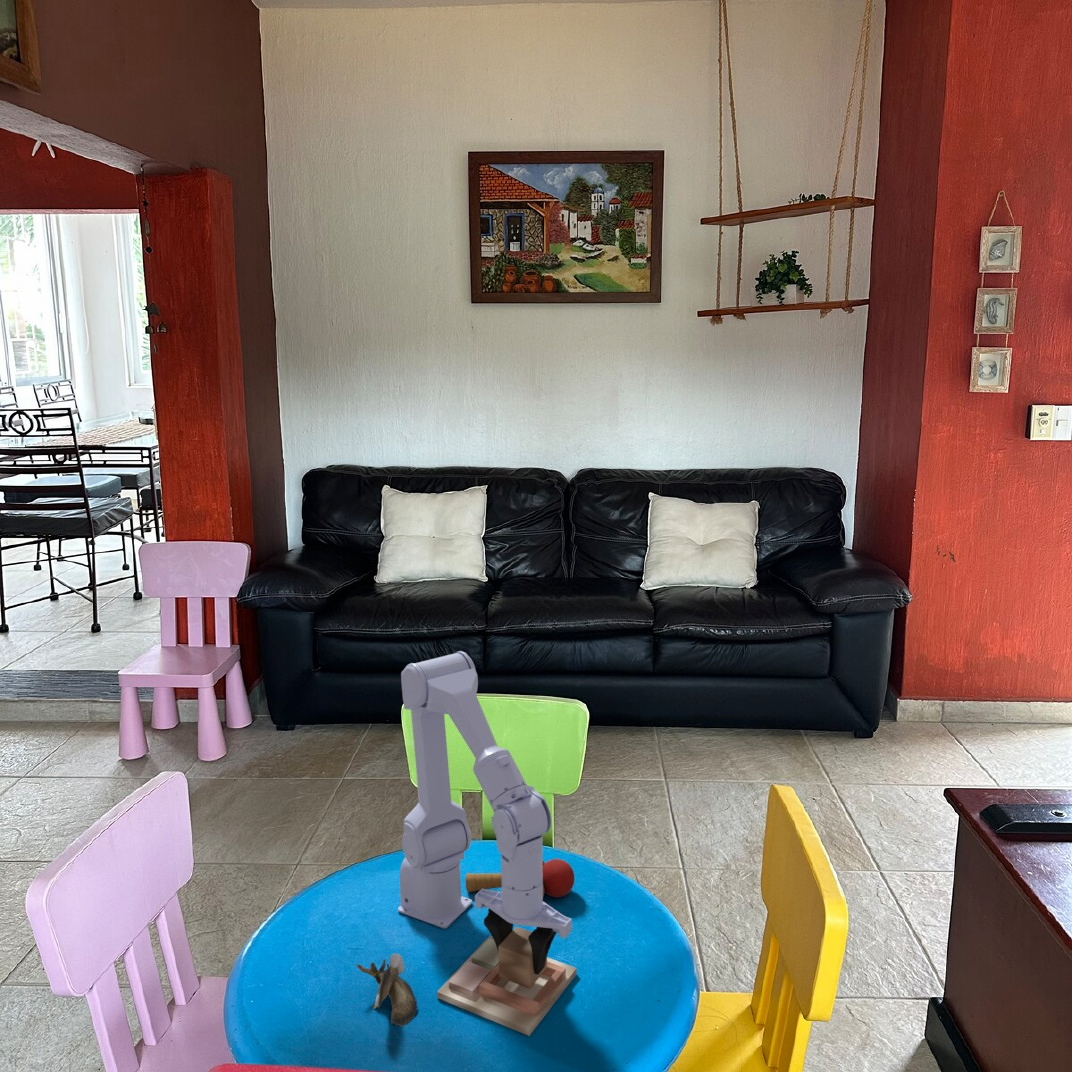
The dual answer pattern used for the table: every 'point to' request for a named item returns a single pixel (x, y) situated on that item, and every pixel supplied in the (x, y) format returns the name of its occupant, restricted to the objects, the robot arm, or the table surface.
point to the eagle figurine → (393, 989)
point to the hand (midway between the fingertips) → (522, 963)
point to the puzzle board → (504, 990)
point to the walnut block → (518, 959)
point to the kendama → (554, 879)
